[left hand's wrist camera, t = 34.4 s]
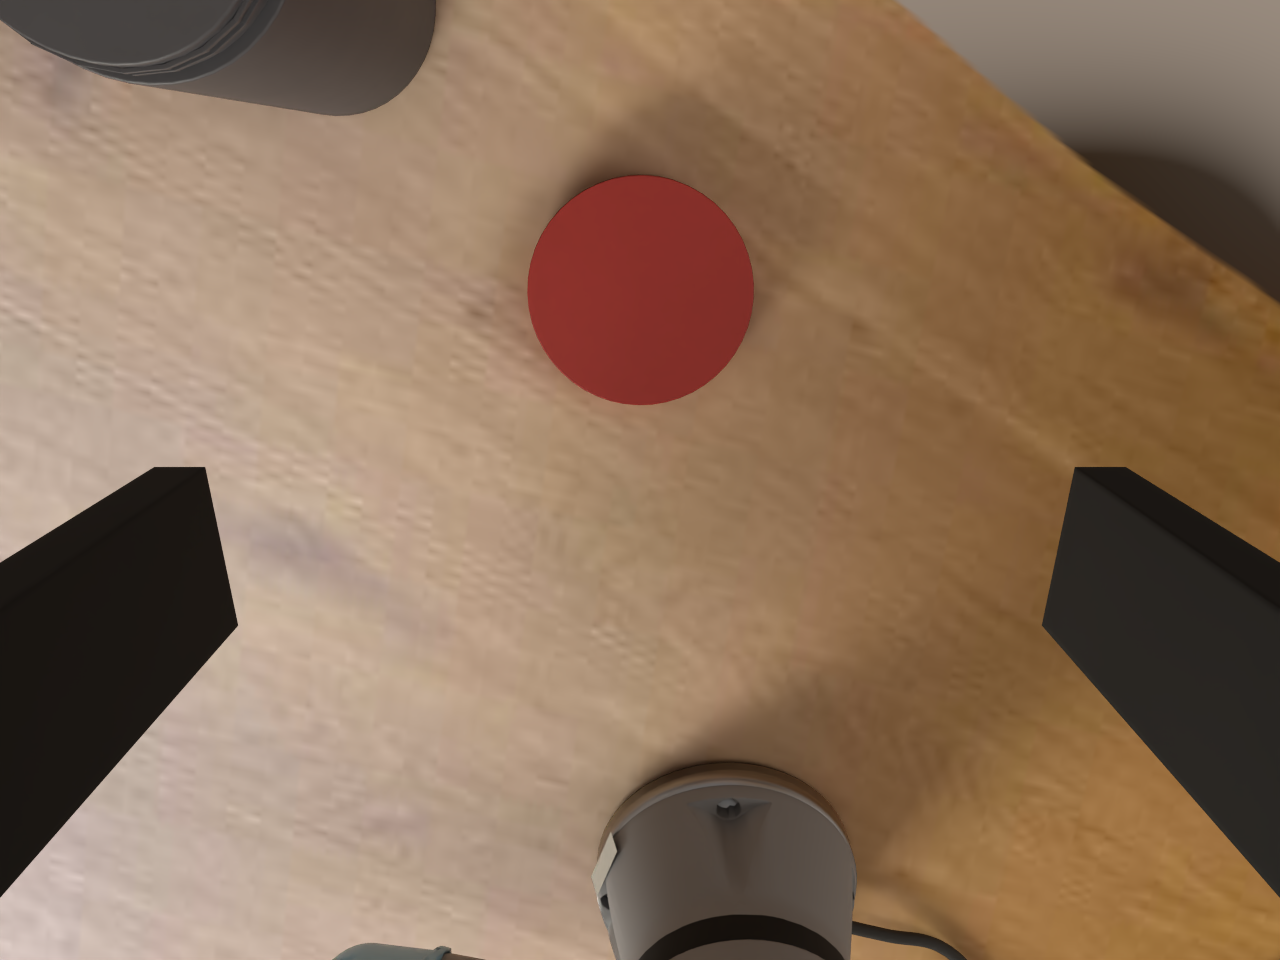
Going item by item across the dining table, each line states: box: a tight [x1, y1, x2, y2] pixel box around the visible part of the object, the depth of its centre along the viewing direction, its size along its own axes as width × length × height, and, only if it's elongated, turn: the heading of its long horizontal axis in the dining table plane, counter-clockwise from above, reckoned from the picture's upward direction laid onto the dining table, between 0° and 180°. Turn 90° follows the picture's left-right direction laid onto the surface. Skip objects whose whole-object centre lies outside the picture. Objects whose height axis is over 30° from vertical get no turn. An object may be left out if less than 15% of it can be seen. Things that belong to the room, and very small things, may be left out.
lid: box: [528, 175, 754, 405], centre depth 36 cm, size 10×10×2 cm
